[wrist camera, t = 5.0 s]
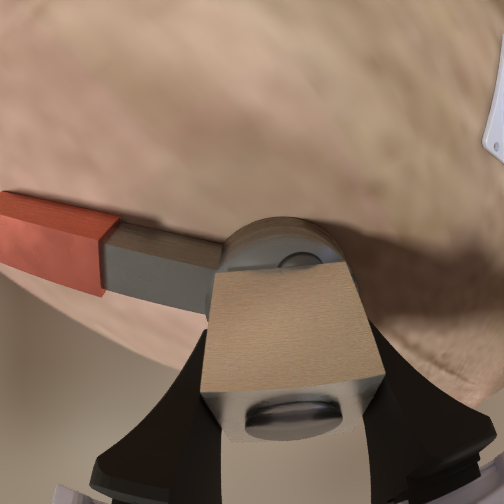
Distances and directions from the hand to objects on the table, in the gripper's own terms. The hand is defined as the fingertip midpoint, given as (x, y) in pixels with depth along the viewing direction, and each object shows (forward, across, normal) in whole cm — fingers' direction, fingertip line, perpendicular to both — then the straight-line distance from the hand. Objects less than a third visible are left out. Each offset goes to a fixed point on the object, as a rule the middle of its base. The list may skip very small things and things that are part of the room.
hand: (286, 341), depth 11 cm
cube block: (+2, 0, 0) cm, 2 cm away
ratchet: (+4, +7, -2) cm, 8 cm away
